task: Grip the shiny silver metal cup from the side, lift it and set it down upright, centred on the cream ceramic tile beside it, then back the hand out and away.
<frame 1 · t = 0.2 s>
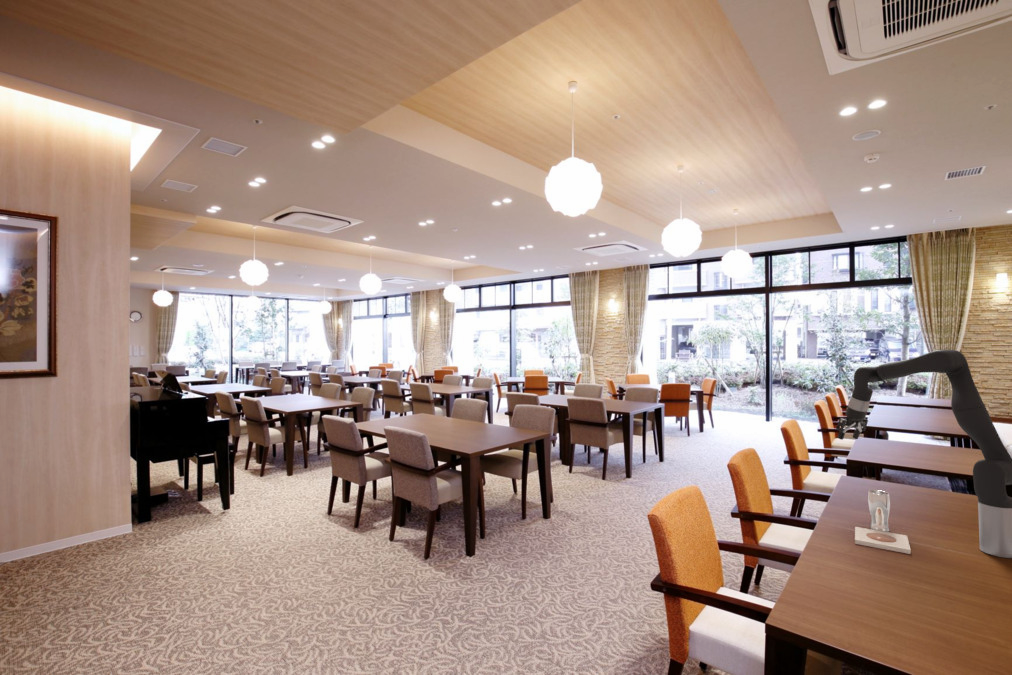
hand: (847, 438, 224), 31 cm above the table, tool tilted 20°, fingers open, 8 cm apart
ceramic tile: (881, 541, 179), on the table
shiny silver metal cup: (879, 529, 191), on the table
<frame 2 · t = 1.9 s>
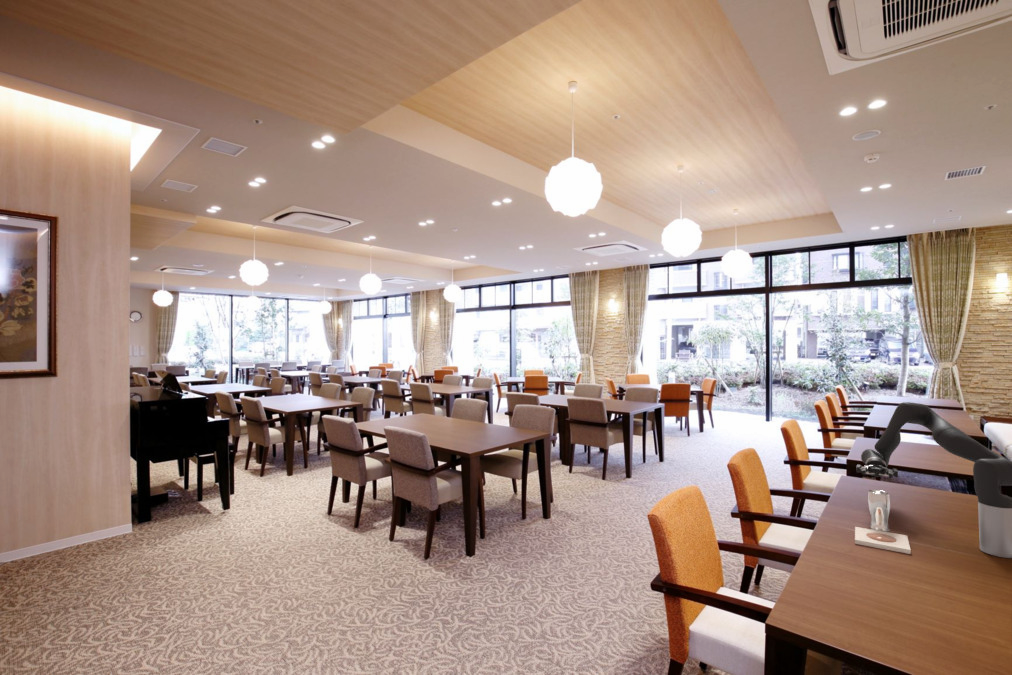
hand: (877, 474, 201), 20 cm above the table, tool horizontal, fingers open, 8 cm apart
nothing on the table moved.
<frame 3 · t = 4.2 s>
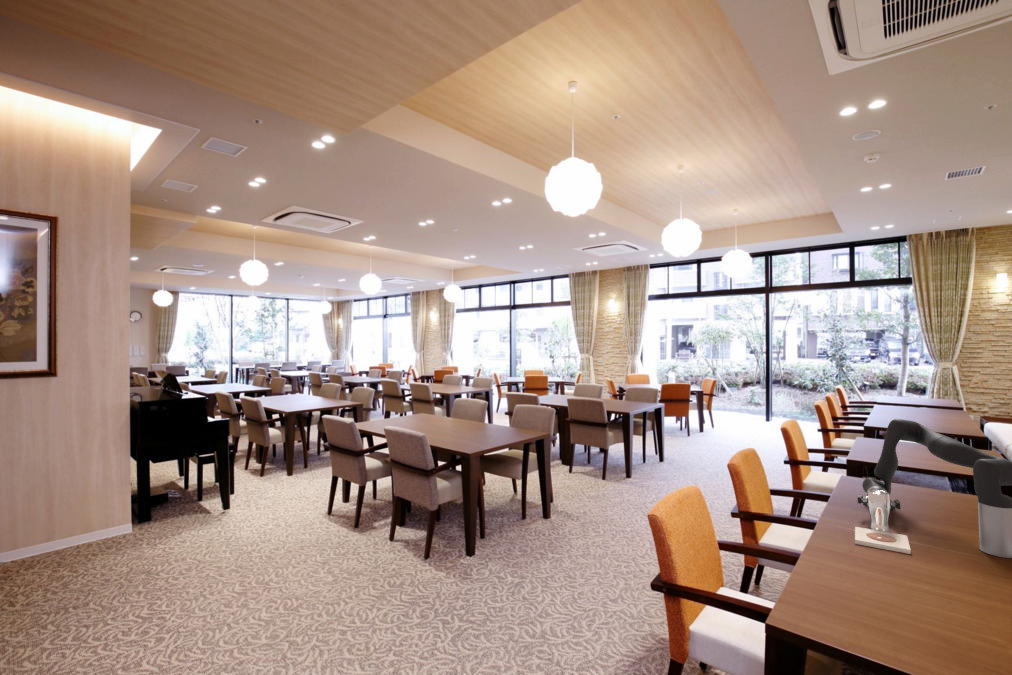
hand: (879, 506, 196), 8 cm above the table, tool horizontal, fingers open, 8 cm apart
nothing on the table moved.
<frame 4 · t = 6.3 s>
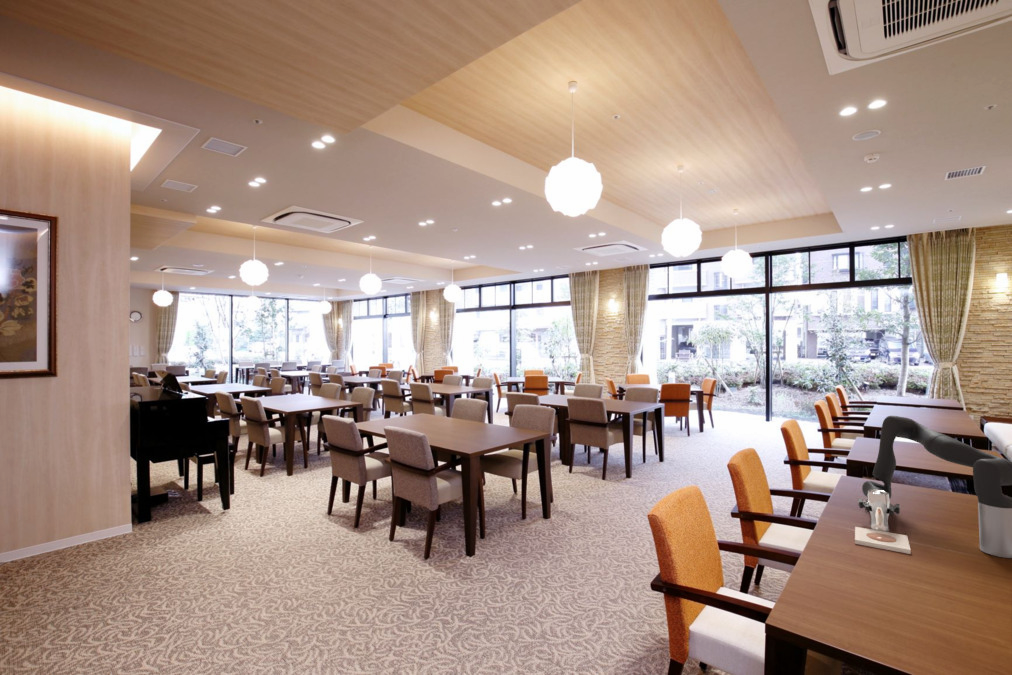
hand: (879, 510, 190), 8 cm above the table, tool horizontal, fingers closed on shiny silver metal cup, 6 cm apart
shiny silver metal cup: (879, 529, 191), on the table, touching gripper
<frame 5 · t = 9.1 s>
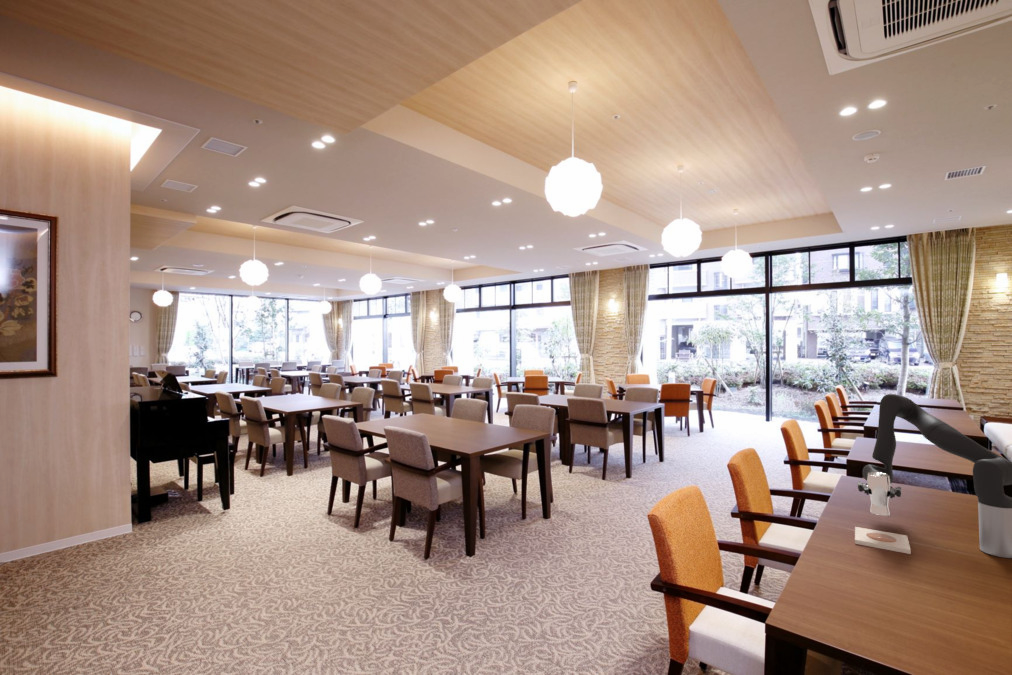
hand: (879, 493, 181), 18 cm above the table, tool horizontal, fingers closed on shiny silver metal cup, 6 cm apart
shiny silver metal cup: (879, 513, 182), point 10 cm above the table, touching gripper
when the fingers open (10 cm above the table, at t = 11.8 s): shiny silver metal cup stays where it is, resting on ceramic tile.
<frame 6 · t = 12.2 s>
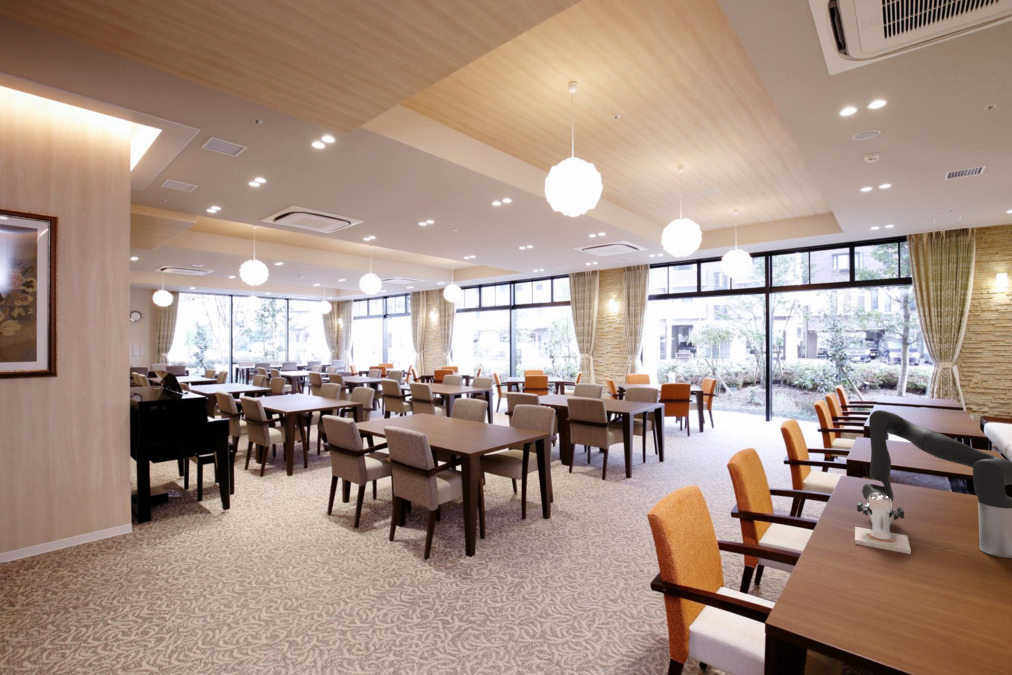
hand: (880, 515, 178), 10 cm above the table, tool horizontal, fingers open, 8 cm apart
shiny silver metal cup: (881, 537, 180), point 1 cm above the table, touching ceramic tile
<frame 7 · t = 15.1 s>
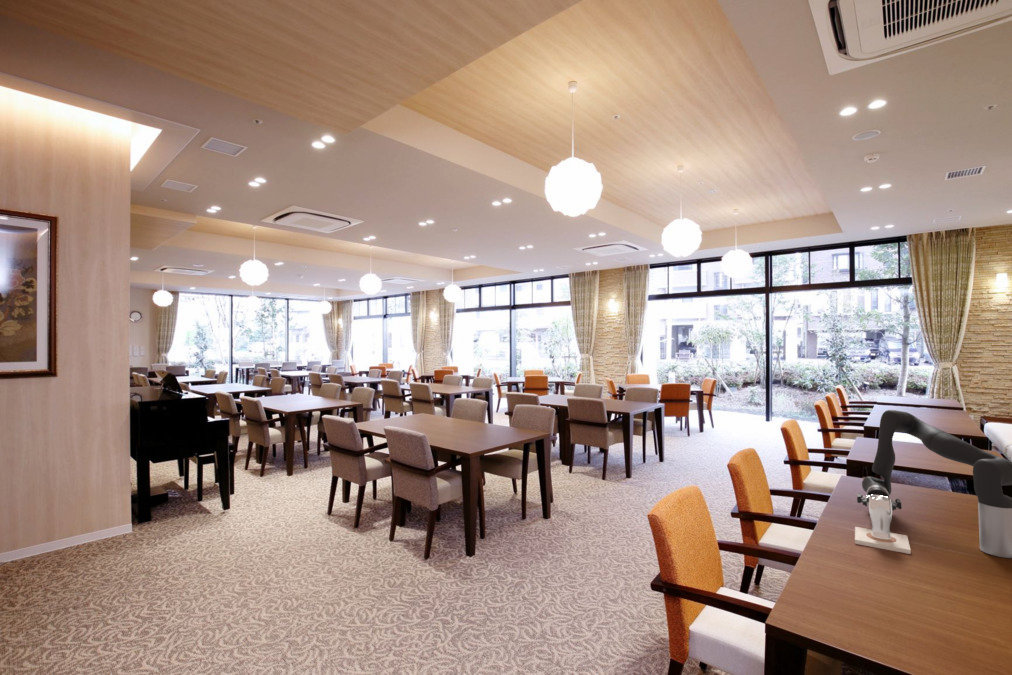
hand: (879, 505, 189), 11 cm above the table, tool horizontal, fingers open, 8 cm apart
nothing on the table moved.
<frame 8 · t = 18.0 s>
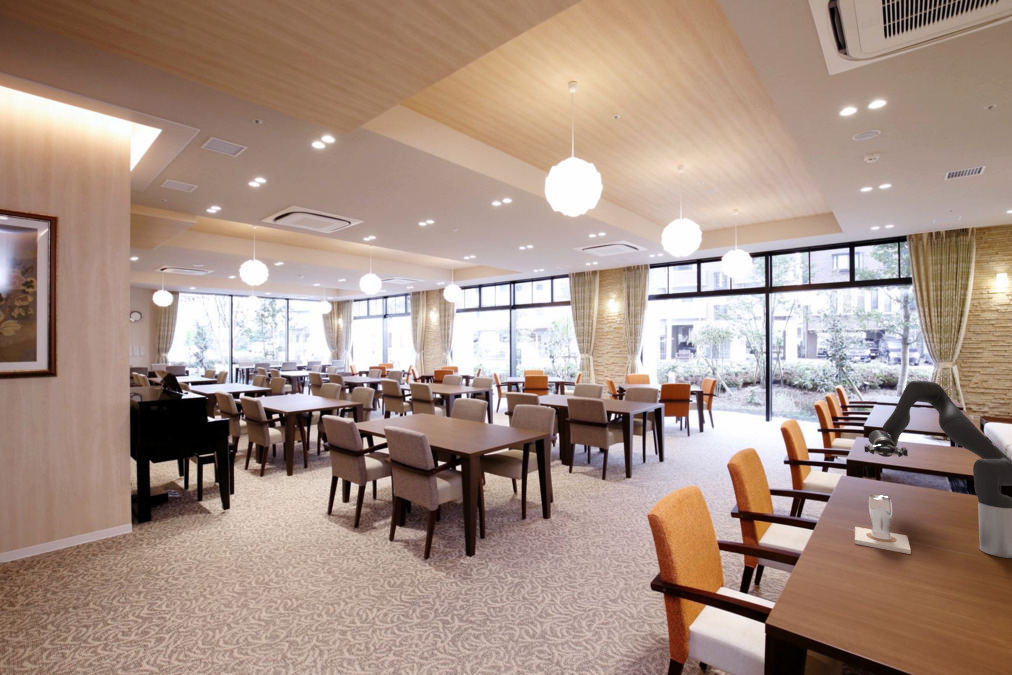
hand: (886, 453, 195), 30 cm above the table, tool horizontal, fingers open, 8 cm apart
nothing on the table moved.
at the end: shiny silver metal cup 0.2 cm off-centre on the ceramic tile, point 1.4 cm above the ceramic tile's base; shiny silver metal cup tilted 0°; the gripper is holding nothing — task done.
